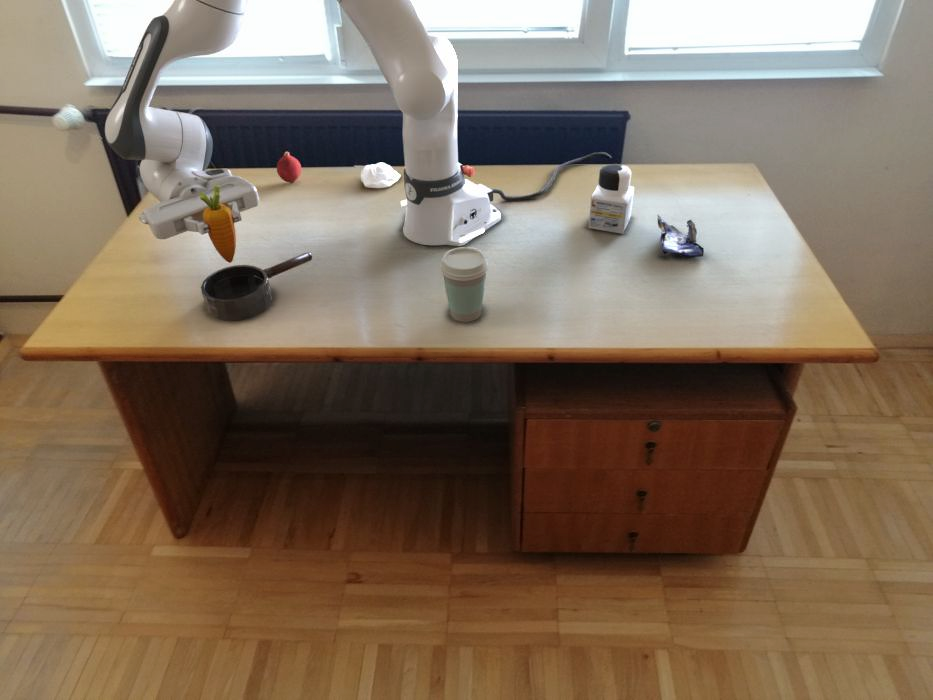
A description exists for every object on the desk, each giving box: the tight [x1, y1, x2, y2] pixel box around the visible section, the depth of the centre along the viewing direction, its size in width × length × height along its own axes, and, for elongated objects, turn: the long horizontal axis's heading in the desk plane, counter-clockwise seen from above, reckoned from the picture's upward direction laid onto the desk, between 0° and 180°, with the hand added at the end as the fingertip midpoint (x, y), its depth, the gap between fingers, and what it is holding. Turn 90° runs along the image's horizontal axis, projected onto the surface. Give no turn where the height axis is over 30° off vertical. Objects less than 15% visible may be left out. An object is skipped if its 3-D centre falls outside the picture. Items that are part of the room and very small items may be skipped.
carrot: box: [200, 186, 237, 264], centre depth 129 cm, size 5×5×15 cm
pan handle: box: [259, 251, 313, 280], centre depth 142 cm, size 11×2×2 cm, turn 130°
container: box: [588, 163, 635, 235], centre depth 154 cm, size 8×8×13 cm
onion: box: [276, 151, 302, 184], centre depth 175 cm, size 6×6×8 cm
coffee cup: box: [439, 246, 489, 323], centre depth 130 cm, size 9×8×12 cm
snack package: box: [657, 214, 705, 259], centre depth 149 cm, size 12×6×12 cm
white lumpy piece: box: [360, 161, 401, 189], centre depth 176 cm, size 10×4×10 cm
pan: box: [200, 264, 273, 322], centre depth 137 cm, size 12×12×4 cm
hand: (221, 223), depth 128 cm, fingers closed on carrot, 5 cm apart
